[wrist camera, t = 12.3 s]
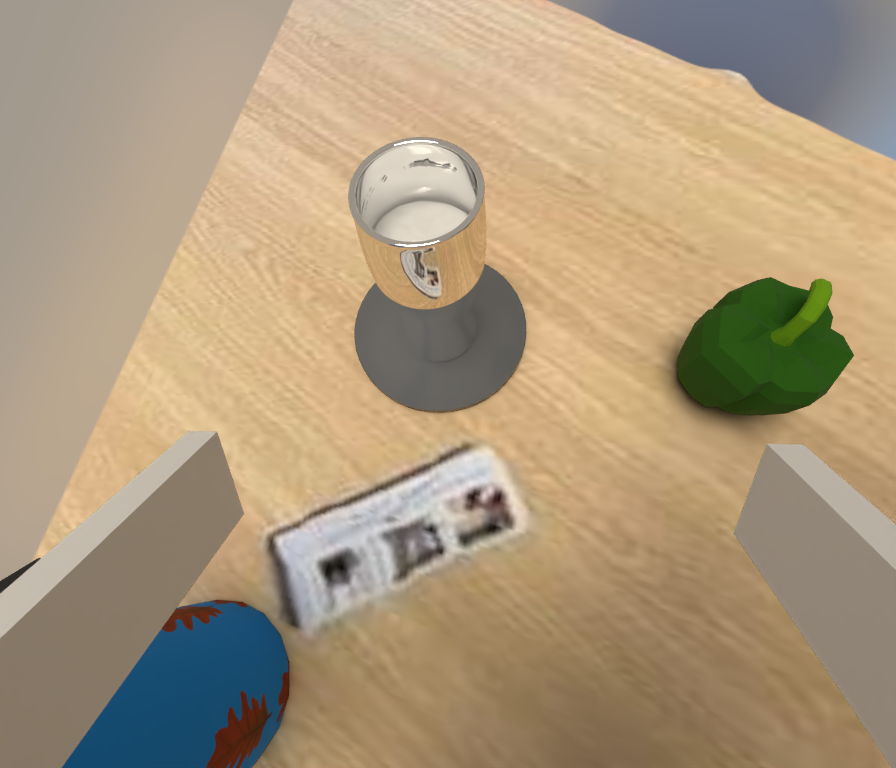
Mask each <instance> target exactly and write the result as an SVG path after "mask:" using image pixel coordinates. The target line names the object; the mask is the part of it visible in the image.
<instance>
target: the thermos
mask: <svg viewBox="0 0 896 768" xmlns="http://www.w3.org/2000/svg"><path fill="white" fill-rule="evenodd" d="M288 696H289V661H288V658H287V654H286V651H285V648H284V645H283V642H282V639H281V635H280V634H279V632H278V631H277V630H276V629H275V627H274V626H273V625H272V624H271V622H270V621H269V620H268V618H267V617H266V616H265V615H264V614H263V613H261V612H260V611H258V610H256V609H254V608H252V607H250V606H249V605H247V604H245V603H243V602H236V601H223V600H214V601H209V602H204V603H199V604H193V605H188V606H183V607H179V608H176V609H175V611H174V612H173V613H172V615H171V616H170V617H169V619H168V620H167V622H166V623H165V624H164V626H163V627H162V629H161V630H160V631H159V633H158V634H157V636H156V637H155V638H154V640H153V641H152V643H151V644H150V645H149V647H148V648H147V649H146V651H145V652H144V654H143V655H142V656H141V658H140V659H139V661H138V662H137V663H136V665H135V666H134V668H133V669H132V670H131V672H130V673H129V675H128V676H127V677H126V679H125V680H124V681H123V683H122V684H121V686H120V687H119V688H118V690H117V691H116V693H115V694H114V695H113V697H112V698H111V700H110V701H109V702H108V704H107V705H106V707H105V708H104V709H103V711H102V712H101V713H100V715H99V716H98V718H97V719H96V720H95V722H94V723H93V725H92V726H91V727H90V729H89V730H88V732H87V733H86V734H85V736H84V737H83V739H82V740H81V741H80V743H79V744H78V746H77V747H76V748H75V750H74V751H73V752H72V754H71V755H70V757H69V758H68V759H67V761H66V762H65V764H64V765H63V766H62V768H252V766H253V765H254V764H255V763H256V761H257V760H258V759H259V757H260V756H261V755H262V753H263V751H264V750H265V748H266V747H267V745H268V744H269V742H270V741H271V739H272V738H273V736H274V735H275V733H276V731H277V730H278V728H279V726H280V723H281V719H282V716H283V713H284V710H285V706H286V703H287V700H288Z"/></svg>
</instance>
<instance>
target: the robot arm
mask: <svg viewBox="0 0 896 768" xmlns="http://www.w3.org/2000/svg"><path fill="white" fill-rule="evenodd" d="M243 514H244V512H243V509H242V506H241V503H240V500H239V497H238V494H237V491H236V488H235V485H234V482H233V479H232V475H231V472H230V469H229V466H228V463H227V460H226V457H225V454H224V451H223V448H222V445H221V442H220V439H219V436H218V433H217V432H204V431H188V432H187V433H186V434H185V435H184V436H183V437H181V438H180V439H179V440H178V441H177V442H176V443H174V444H173V445H172V446H171V447H170V448H169V449H168V450H166V451H165V452H164V453H163V454H162V455H161V456H159V457H158V458H157V459H156V460H155V461H154V462H152V463H151V464H150V465H149V466H148V467H147V468H145V469H144V470H143V471H142V472H141V473H140V474H139V475H137V476H136V477H135V478H134V479H133V480H132V481H130V482H129V483H128V484H127V485H126V486H125V487H123V488H122V489H121V490H120V491H119V492H118V493H116V494H115V495H114V496H113V497H112V498H111V499H109V500H108V501H107V502H106V503H105V504H104V505H103V506H101V507H100V508H99V509H98V510H97V511H96V512H94V513H93V514H92V515H91V516H90V517H89V518H87V519H86V520H85V521H84V522H83V523H82V524H80V525H79V526H78V527H77V528H76V529H75V530H73V531H72V532H71V533H70V534H69V535H68V536H67V537H65V538H64V539H63V540H62V541H61V542H60V543H58V544H57V545H56V546H55V547H54V548H53V549H51V550H50V551H49V552H48V553H47V554H46V555H44V556H43V557H42V558H38V559H36V560H34V561H33V562H31V563H29V564H28V565H26V566H25V567H23V568H21V569H20V570H18V571H16V572H15V573H13V574H11V575H10V576H8V577H6V578H5V579H3V580H1V581H0V768H62V766H63V765H64V764H65V762H66V761H67V759H68V758H69V757H70V755H71V754H72V752H73V751H74V750H75V748H76V747H77V746H78V744H79V743H80V741H81V740H82V739H83V737H84V736H85V734H86V733H87V732H88V730H89V729H90V727H91V726H92V725H93V723H94V722H95V720H96V719H97V718H98V716H99V715H100V713H101V712H102V711H103V709H104V708H105V707H106V705H107V704H108V702H109V701H110V700H111V698H112V697H113V695H114V694H115V693H116V691H117V690H118V688H119V687H120V686H121V684H122V683H123V681H124V680H125V679H126V677H127V676H128V675H129V673H130V672H131V670H132V669H133V668H134V666H135V665H136V663H137V662H138V661H139V659H140V658H141V656H142V655H143V654H144V652H145V651H146V649H147V648H148V647H149V645H150V644H151V643H152V641H153V640H154V638H155V637H156V636H157V634H158V633H159V631H160V630H161V629H162V627H163V626H164V624H165V623H166V622H167V620H168V619H169V617H170V616H171V615H172V613H173V612H174V611H175V609H176V608H177V606H178V605H179V604H180V602H181V601H182V599H183V598H184V597H185V595H186V594H187V592H188V591H189V590H190V588H191V587H192V585H193V584H194V583H195V581H196V580H197V579H198V577H199V576H200V574H201V573H202V572H203V570H204V569H205V567H206V566H207V565H208V563H209V562H210V560H211V559H212V558H213V556H214V555H215V553H216V552H217V551H218V549H219V548H220V547H221V545H222V544H223V542H224V541H225V540H226V538H227V537H228V535H229V534H230V533H231V531H232V530H233V528H234V527H235V526H236V524H237V523H238V521H239V520H240V519H241V517H242V516H243ZM734 535H735V536H736V538H737V539H738V541H739V542H740V544H741V545H742V547H743V548H744V550H745V551H746V553H747V554H748V556H749V557H750V558H751V560H752V561H753V563H754V564H755V566H756V567H757V569H758V570H759V572H760V573H761V575H762V576H763V578H764V579H765V581H766V582H767V584H768V585H769V587H770V588H771V590H772V591H773V593H774V594H775V595H776V597H777V598H778V600H779V601H780V603H781V604H782V606H783V607H784V609H785V610H786V612H787V613H788V615H789V616H790V618H791V619H792V621H793V622H794V624H795V625H796V627H797V628H798V630H799V631H800V632H801V634H802V635H803V637H804V638H805V640H806V641H807V643H808V644H809V646H810V647H811V649H812V650H813V652H814V653H815V655H816V656H817V658H818V659H819V661H820V662H821V664H822V665H823V667H824V668H825V669H826V671H827V672H828V674H829V675H830V677H831V678H832V680H833V681H834V683H835V684H836V686H837V687H838V689H839V690H840V692H841V693H842V695H843V696H844V698H845V699H846V701H847V702H848V704H849V705H850V706H851V708H852V709H853V711H854V712H855V714H856V715H857V717H858V718H859V720H860V721H861V723H862V724H863V726H864V727H865V729H866V730H867V732H868V733H869V735H870V736H871V738H872V739H873V741H874V742H875V743H876V745H877V746H878V748H879V749H880V751H881V752H882V754H883V755H884V757H885V758H886V760H887V761H888V763H889V764H890V766H891V767H892V768H896V525H895V524H894V523H893V522H892V521H891V520H890V519H889V518H887V517H886V516H885V515H884V514H883V513H882V512H880V511H879V510H878V509H877V508H876V507H875V506H874V505H872V504H871V503H870V502H869V501H868V500H867V499H866V498H864V497H863V496H862V495H861V494H860V493H859V492H857V491H856V490H855V489H854V488H853V487H852V486H851V485H849V484H848V483H847V482H846V481H845V480H844V479H842V478H841V477H840V476H839V475H838V474H837V473H836V472H834V471H833V470H832V469H831V468H830V467H829V466H827V465H826V464H825V463H824V462H823V461H822V460H821V459H819V458H818V457H817V456H816V455H815V454H814V453H813V452H811V451H810V450H809V449H808V448H807V447H806V446H804V445H801V444H767V445H766V447H765V450H764V453H763V456H762V458H761V461H760V464H759V466H758V469H757V472H756V474H755V477H754V480H753V483H752V485H751V488H750V491H749V493H748V496H747V499H746V502H745V504H744V507H743V510H742V512H741V515H740V518H739V521H738V523H737V526H736V529H735V531H734Z"/></svg>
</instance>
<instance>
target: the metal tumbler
mask: <svg viewBox="0 0 896 768" xmlns="http://www.w3.org/2000/svg"><path fill="white" fill-rule="evenodd" d="M484 193H485V185H484V179H483V175H482V172H481V170H480V168H479V166H478V164H477V163H476V162H475V160H474V159H473V158H472V157H471V156H470V155H469V154H468V153H467V152H466V151H464V150H463V149H462V148H460V147H458V146H456V145H455V144H452V143H450V142H447V141H444V140H441V139H436V138H429V137H414V138H406V139H402V140H398V141H395V142H392V143H389V144H387V145H385V146H383V147H381V148H379V149H378V150H376V151H374V152H373V153H372V154H370V155H369V156H368V157H367V158H366V159H365V160H364V161H363V162H362V163H361V164H360V166H359V167H358V168H357V170H356V172H355V173H354V175H353V177H352V180H351V183H350V187H349V193H348V200H349V207H350V211H351V213H352V216H353V218H354V222H355V226H356V230H357V234H358V237H359V241H360V245H361V248H362V251H363V254H364V257H365V260H366V262H367V265H368V267H369V270H370V272H371V274H372V276H373V278H374V280H375V282H376V284H377V286H378V287H379V289H380V290H381V292H382V293H383V295H384V296H385V298H386V299H387V300H388V302H389V303H390V304H391V305H392V307H393V308H394V309H395V310H396V312H397V313H398V314H399V315H400V317H401V332H402V336H403V340H404V342H405V344H406V345H407V347H408V348H409V349H410V350H411V351H412V352H413V353H414V354H415V355H416V356H418V357H420V358H422V359H424V360H427V361H432V362H444V361H449V360H452V359H455V358H457V357H458V356H460V355H462V354H463V353H464V352H465V351H466V350H467V349H468V348H469V347H470V345H471V344H472V342H473V340H474V338H475V334H476V328H477V325H476V318H475V314H474V312H473V309H472V303H473V300H474V297H475V295H476V292H477V289H478V286H479V283H480V280H481V276H482V272H483V268H484V263H485V254H486V211H485V199H484Z"/></svg>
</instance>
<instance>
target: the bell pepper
mask: <svg viewBox="0 0 896 768" xmlns="http://www.w3.org/2000/svg"><path fill="white" fill-rule="evenodd" d="M831 295H832V285H831V282H829V281H826V280H824V279H817V280H815V281H813V282H812V283H811V287H810V291H808V290H804V289H800V288H796V287H792V286H789V285H787V284H784V283H782V282H780V281H778V280H776V279H773V278H771V277H770V278H765V279H761V280H757V281H754V282H752V283H750V284H747V285H745V286H742V287H740V288H738V289H735V290H733V291H731V292H729V293H728V294H726V295H725V296H724V297H723V298H722V299H721V300H720V301H719V302H718V303H717V304H716V305H715V306H714V307H713V309H710V310H708V311H707V312H706V313H705V314H704V315H703V316H702V317H701V318H700V319H699V320H698V321H697V322H696V323H695V324H694V326H693V328H692V330H691V332H690V333H689V335H688V337H687V339H686V341H685V343H684V345H683V347H682V349H681V351H680V354H679V356H678V379H679V381H680V382H681V383H682V385H683V386H684V388H685V389H686V391H687V392H688V393H689V395H690V396H691V397H692V398H694V399H695V400H697V401H698V402H700V403H701V404H703V405H704V406H705V407H715V406H718V407H719V408H720V409H722V410H724V411H726V412H730V413H736V414H742V415H770V414H784V413H788V412H791V411H794V410H797V409H800V408H803V407H806V406H809V405H811V404H812V403H813V402H815V401H816V400H818V399H819V398H820V397H822V396H823V395H825V394H826V393H827V391H828V390H829V389H830V387H831V386H832V385H833V383H834V382H835V380H836V379H837V378H838V376H839V375H840V374H841V372H842V371H843V370H844V368H845V367H846V366H847V364H848V363H849V362H850V360H851V359H852V358H853V356H854V354H853V353H852V351H851V349H850V347H849V346H848V344H847V342H846V340H845V338H844V337H843V336H842V335H840V334H839V333H837V332H835V331H834V330H832V329H831V323H832V319H833V316H832V313H831V311H830V309H829V306H828V302H829V300H830V298H831Z"/></svg>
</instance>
